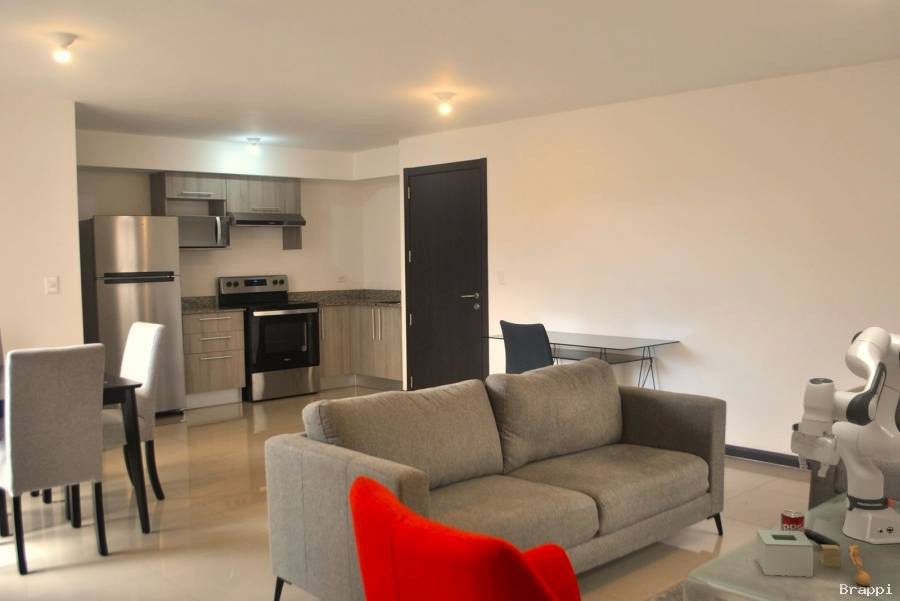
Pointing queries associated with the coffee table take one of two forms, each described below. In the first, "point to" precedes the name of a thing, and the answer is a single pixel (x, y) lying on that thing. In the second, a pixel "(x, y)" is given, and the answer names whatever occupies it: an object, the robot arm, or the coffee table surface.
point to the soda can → (792, 521)
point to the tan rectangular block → (830, 555)
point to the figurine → (861, 576)
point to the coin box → (784, 553)
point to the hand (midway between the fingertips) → (812, 473)
